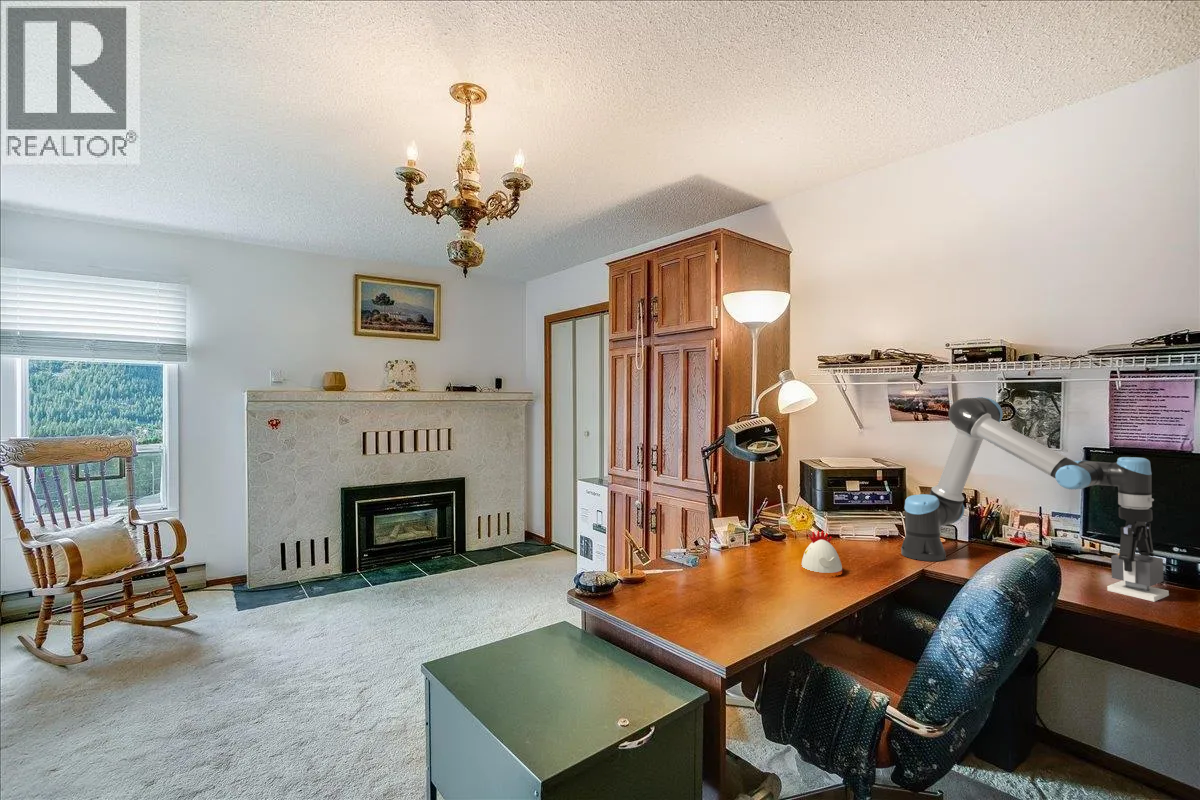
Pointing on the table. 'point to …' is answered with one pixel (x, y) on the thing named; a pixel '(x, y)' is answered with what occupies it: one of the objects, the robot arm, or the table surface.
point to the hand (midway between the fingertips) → (1137, 578)
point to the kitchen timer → (821, 555)
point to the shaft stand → (1138, 590)
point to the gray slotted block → (1140, 569)
